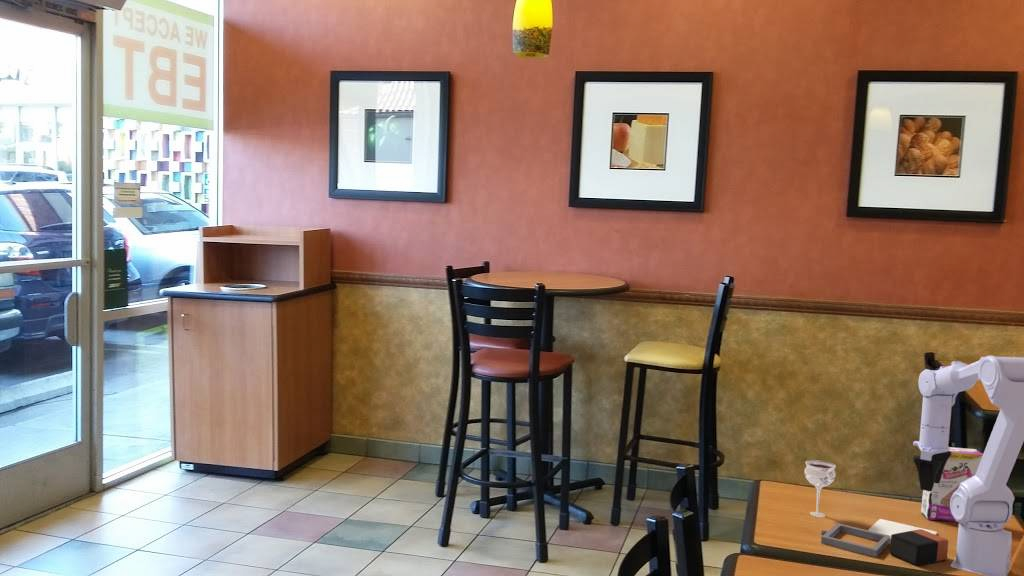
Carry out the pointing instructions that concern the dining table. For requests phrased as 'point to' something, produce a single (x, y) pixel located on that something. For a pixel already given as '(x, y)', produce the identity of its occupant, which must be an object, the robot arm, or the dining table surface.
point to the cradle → (874, 552)
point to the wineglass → (819, 477)
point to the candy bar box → (950, 483)
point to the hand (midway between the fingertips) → (930, 486)
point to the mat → (893, 528)
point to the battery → (919, 547)
